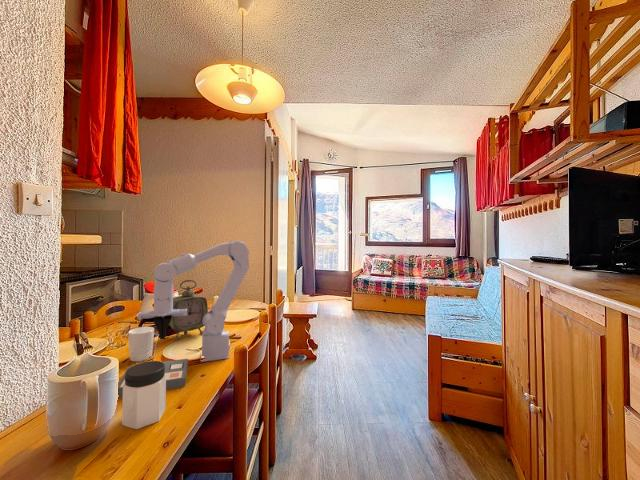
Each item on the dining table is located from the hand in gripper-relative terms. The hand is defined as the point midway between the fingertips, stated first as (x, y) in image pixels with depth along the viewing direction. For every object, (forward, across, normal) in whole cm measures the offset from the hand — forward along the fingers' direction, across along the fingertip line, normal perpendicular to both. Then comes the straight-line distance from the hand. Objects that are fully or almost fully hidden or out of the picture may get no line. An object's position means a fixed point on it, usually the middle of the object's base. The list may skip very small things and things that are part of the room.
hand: (162, 338), depth 93 cm
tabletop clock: (+10, +6, +29) cm, 31 cm away
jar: (+10, 0, -29) cm, 31 cm away
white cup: (+10, -8, +10) cm, 16 cm away
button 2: (+9, +5, -8) cm, 13 cm away
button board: (+9, 0, -10) cm, 14 cm away
